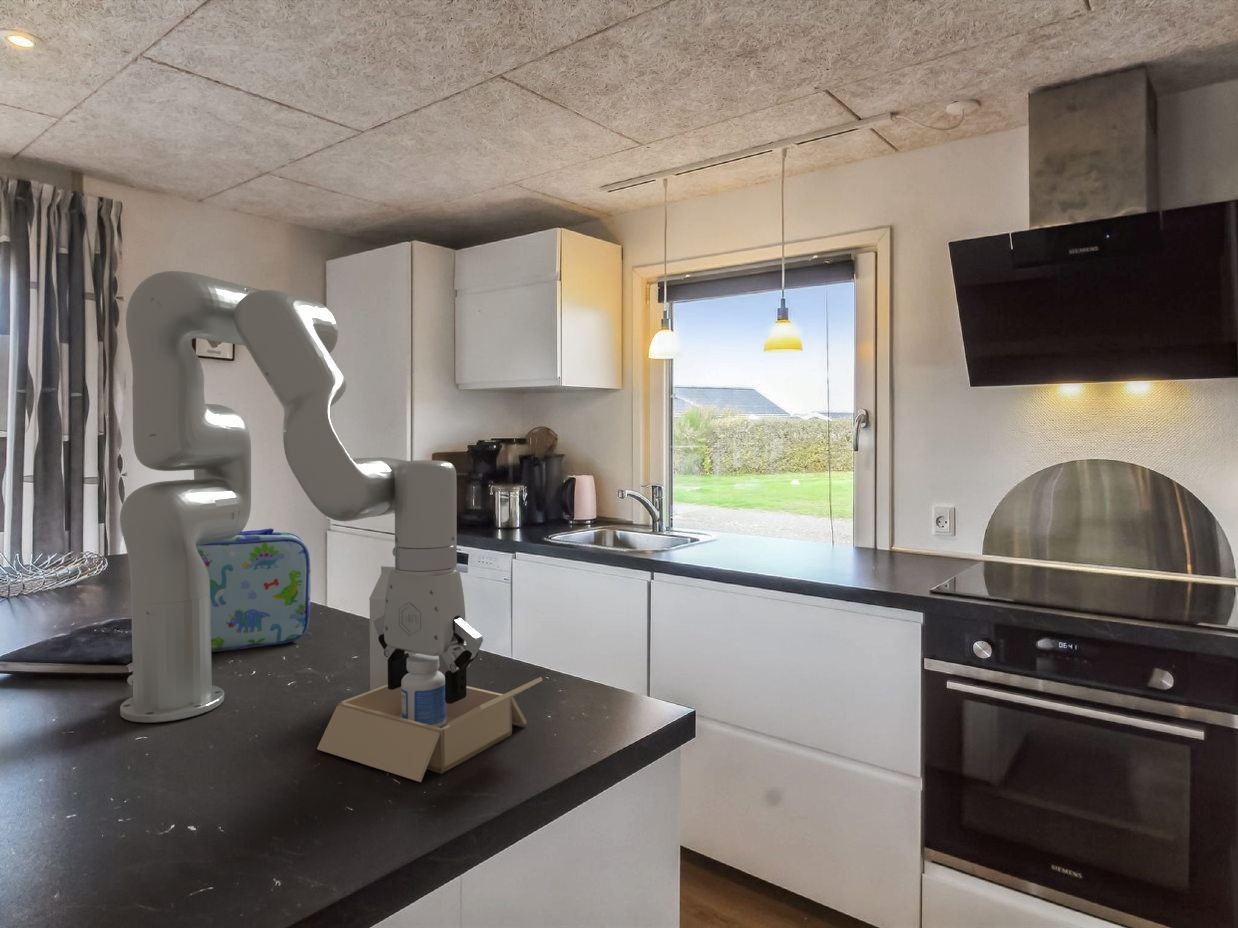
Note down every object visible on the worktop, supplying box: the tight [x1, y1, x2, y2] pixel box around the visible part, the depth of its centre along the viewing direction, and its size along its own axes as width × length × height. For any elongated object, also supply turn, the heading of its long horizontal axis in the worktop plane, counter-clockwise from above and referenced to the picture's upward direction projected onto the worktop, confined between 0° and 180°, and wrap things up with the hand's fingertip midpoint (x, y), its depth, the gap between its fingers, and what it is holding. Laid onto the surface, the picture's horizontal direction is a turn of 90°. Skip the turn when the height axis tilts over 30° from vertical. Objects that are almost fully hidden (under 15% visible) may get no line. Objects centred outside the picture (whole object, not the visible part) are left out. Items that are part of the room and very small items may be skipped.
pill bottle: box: [401, 654, 446, 728], centre depth 98 cm, size 6×5×10 cm
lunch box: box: [196, 527, 312, 653], centre depth 138 cm, size 26×11×21 cm, turn 120°
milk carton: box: [369, 565, 419, 691], centre depth 113 cm, size 7×7×19 cm
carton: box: [316, 684, 528, 783], centre depth 98 cm, size 20×20×5 cm
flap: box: [448, 676, 544, 727], centre depth 92 cm, size 1×12×6 cm
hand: (426, 693), depth 97 cm, fingers open, 9 cm apart
